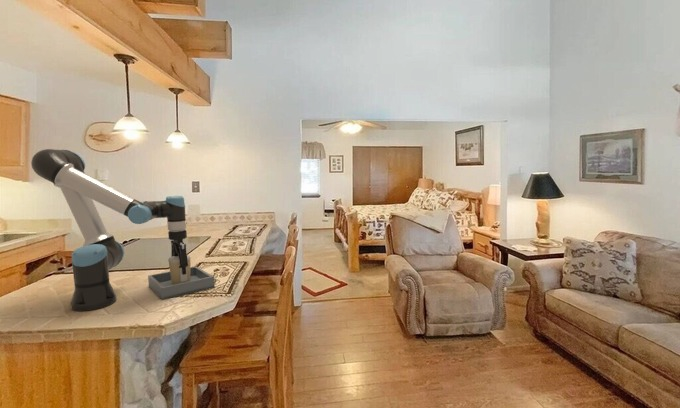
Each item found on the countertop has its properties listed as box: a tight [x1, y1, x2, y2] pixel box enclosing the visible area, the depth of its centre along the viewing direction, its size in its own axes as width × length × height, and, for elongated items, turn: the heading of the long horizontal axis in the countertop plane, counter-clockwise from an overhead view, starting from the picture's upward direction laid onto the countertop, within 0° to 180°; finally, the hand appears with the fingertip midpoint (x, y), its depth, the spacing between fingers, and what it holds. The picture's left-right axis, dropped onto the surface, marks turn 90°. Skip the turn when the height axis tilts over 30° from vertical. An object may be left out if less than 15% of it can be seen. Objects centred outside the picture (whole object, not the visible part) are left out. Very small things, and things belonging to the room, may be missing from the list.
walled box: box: [147, 265, 216, 301], centre depth 165 cm, size 22×23×5 cm
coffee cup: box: [167, 254, 192, 285], centre depth 165 cm, size 9×9×12 cm
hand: (180, 278), depth 165 cm, fingers closed on coffee cup, 9 cm apart
